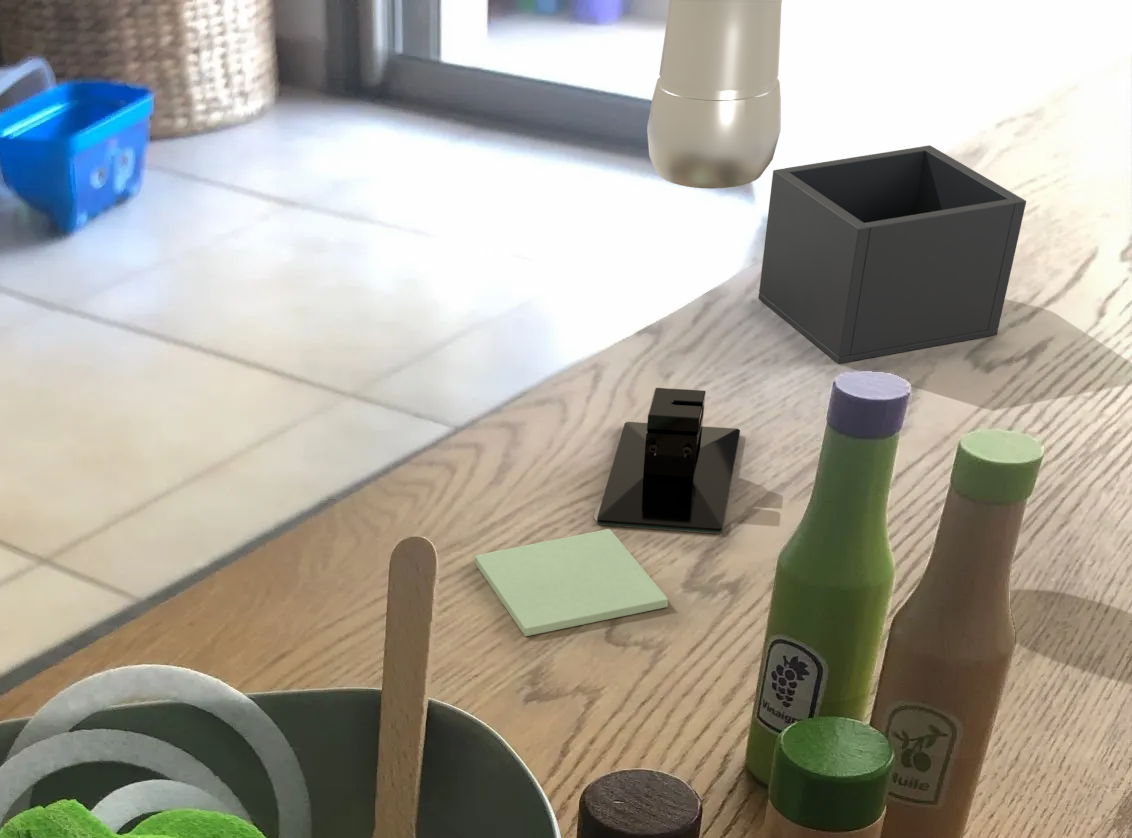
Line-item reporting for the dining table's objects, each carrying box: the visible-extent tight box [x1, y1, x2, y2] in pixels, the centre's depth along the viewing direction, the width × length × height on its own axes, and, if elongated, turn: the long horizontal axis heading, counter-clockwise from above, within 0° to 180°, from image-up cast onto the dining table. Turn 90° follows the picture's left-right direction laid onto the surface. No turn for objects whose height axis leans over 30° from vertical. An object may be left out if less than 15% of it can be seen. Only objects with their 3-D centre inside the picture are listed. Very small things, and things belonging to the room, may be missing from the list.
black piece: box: [593, 387, 741, 535], centre depth 94 cm, size 12×7×5 cm, turn 167°
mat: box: [474, 528, 669, 637], centre depth 87 cm, size 8×8×1 cm
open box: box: [757, 145, 1027, 364], centre depth 108 cm, size 12×12×8 cm
